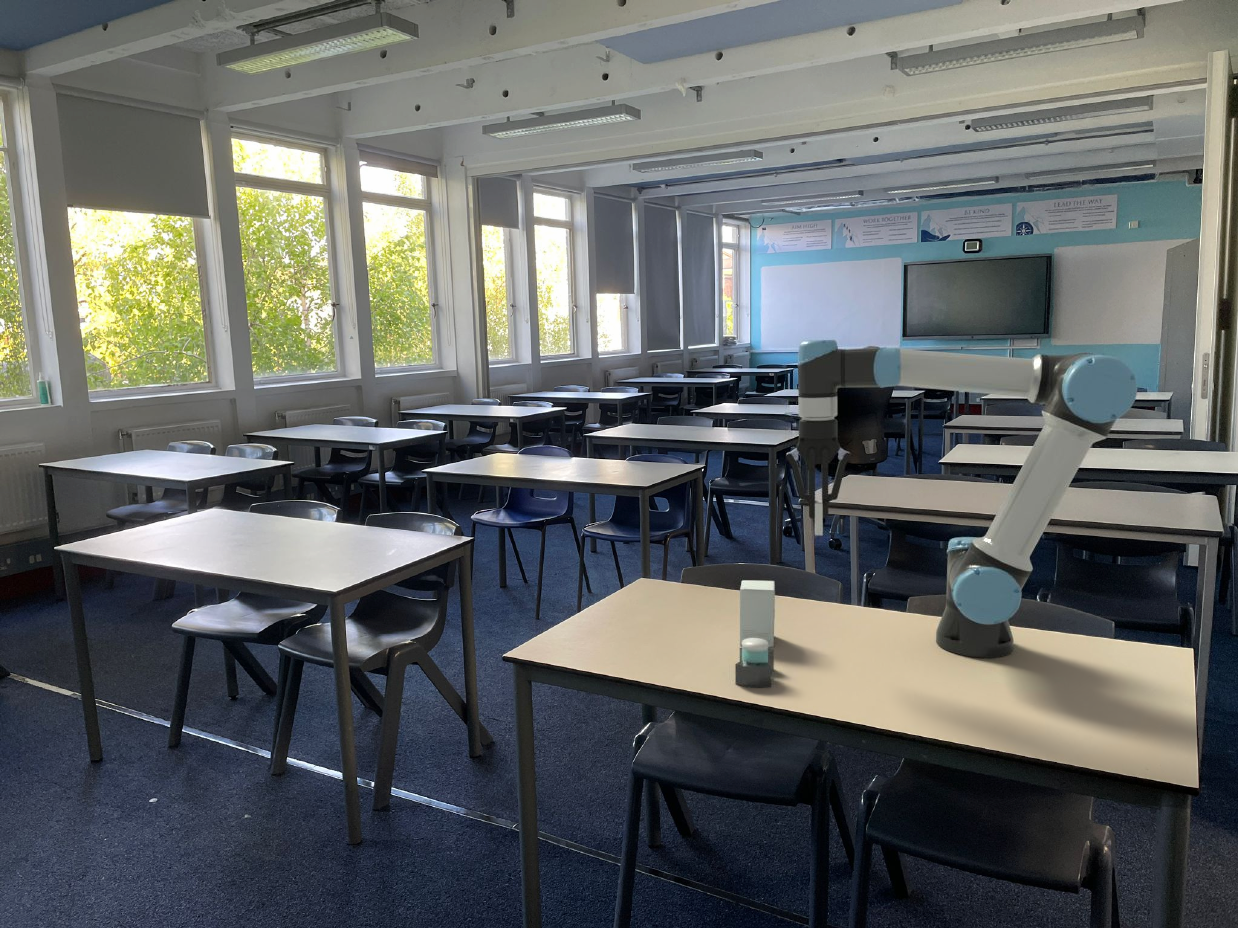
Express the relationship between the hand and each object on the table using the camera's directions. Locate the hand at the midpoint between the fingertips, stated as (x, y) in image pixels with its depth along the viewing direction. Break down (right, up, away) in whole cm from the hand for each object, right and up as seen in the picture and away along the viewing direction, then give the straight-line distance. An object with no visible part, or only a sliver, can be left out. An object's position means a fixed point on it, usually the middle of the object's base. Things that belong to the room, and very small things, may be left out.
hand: (818, 533), depth 175 cm
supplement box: (-10, -25, +13) cm, 30 cm away
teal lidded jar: (-14, -27, -7) cm, 32 cm away
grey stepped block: (-14, -27, -7) cm, 31 cm away
